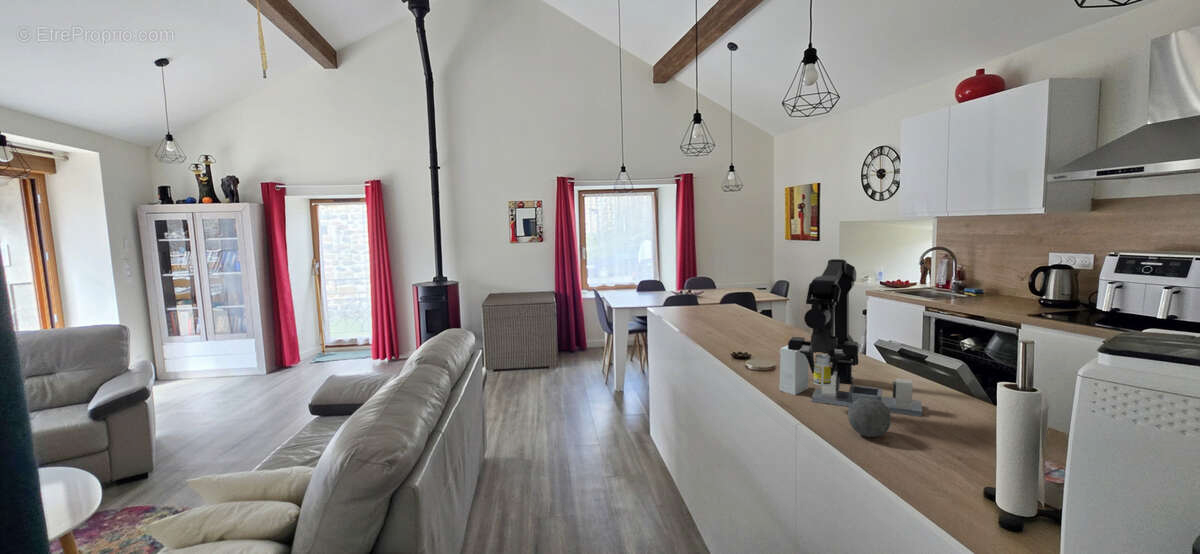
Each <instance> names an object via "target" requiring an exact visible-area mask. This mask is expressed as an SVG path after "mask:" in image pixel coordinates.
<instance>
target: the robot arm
mask: <svg viewBox="0 0 1200 554" xmlns="http://www.w3.org/2000/svg"><path fill="white" fill-rule="evenodd" d="M856 281H857V271H856V267H855V266H853V265H852V264H850V263H848V262H847V260H846V259H840V258H839V259H837V258H836V259H835V258H834V259H833V258H832V259H829V260H827V265H826V268H825V269H824V271H823V272H822V274H821V275H820V276H816V277H814V278H813V279H812V281H811V282H810V283H809V285H808V291H807V296H806V300H805V304H806V305H811V308H810V309H809V310H807V311H806V312H805V314H804V317H803V320H804V322H805V325H807V327H808V328H810V329H812V333H811V335H810V340H809V341H808V340H806V338H805V337H801V336H792V337H790V339H789V340H788V342H787V345H788V349H789V350H800V349H801V351H800V353H803V354H804V355H805V356H806V358H807V360H808V362H809V368H810V370H811V373H812V374H813V375H814V362H815V359H814V357H815V356H814V355H815V353H818V354H823V355H828V356H830V363H831V365H832V366H831V376H833V373H834V371H837V375H840V383H845V384H853V382H854V381H853V380H854V377H853V376H852V375H853V372H852V371H853V370H852V369H853V367H855V366H859V352H860V344H859V342H857V341H854V340H853V338H852V336H851V335H850V331H849V330H850V291H851V290H852V289H853V287H854V285H855V282H856Z"/></svg>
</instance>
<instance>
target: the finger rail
mask: <svg viewBox="0 0 1200 554" xmlns="http://www.w3.org/2000/svg"><path fill="white" fill-rule="evenodd" d="M840 384H841V382H840V375H837V371H834V373H833V376H831V385H829V386H821V388H816V387H815V389H814V390H813V393H812V396H811V402H812V403H818V402H819V403H820V404H825V403H829V404H828V405H832V404H836V405H835V406H840V405H842V406H841V407H847V406H848V408H850V406H851V404H852V403H853V402H854V401H856V400H858V399H860V398H864V397H870V398H874V399H877V400H879V401H881V402H882V403H883V404H884V405H885V406H886V407H887V408H888V410H889V412H890V414H892V413H893V414H899V415H907V416H914V417H922V416H923V408H922V401H920V400H915V399H913V379H911V378H909V379H908V378H900V377H896V380H893V382H892V397H890V396H889V397H888V396H883V395H882V392H883V391H882V390H883V389H882V388H880V387H871V386H863V385H855V384H850V387H849V390H848V391H841V390H840V386H841V385H840ZM819 403H818V404H819Z"/></svg>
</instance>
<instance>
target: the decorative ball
mask: <svg viewBox="0 0 1200 554" xmlns="http://www.w3.org/2000/svg"><path fill="white" fill-rule="evenodd" d="M847 419H848V423H849V425H850V427H851V428H852V429H853V430H854V431H855V432H856V433H858V434H859V435H861V436H863V437H868V438H876V437H880V436H882V435H884V434H885V433H887V431H888V430H889V429H890V426H891V424H892V416H891V412H889V410H888V408H887V407H886V406H885V405H884V404H883V403H882V402H881V401H879V400H877V399H874V398H870V397H864V398H860V399H858V400H856V401H854V402H853V403H852V404H851V406H850V407H848V411H847Z"/></svg>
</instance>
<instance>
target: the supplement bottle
mask: <svg viewBox="0 0 1200 554" xmlns="http://www.w3.org/2000/svg"><path fill="white" fill-rule="evenodd" d="M831 368H832V363H830V356H828V354H824V353H818V354H816V355H815V359H814V374H813V384H814V385H816V386H820V387H822V386H829V385H831Z"/></svg>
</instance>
